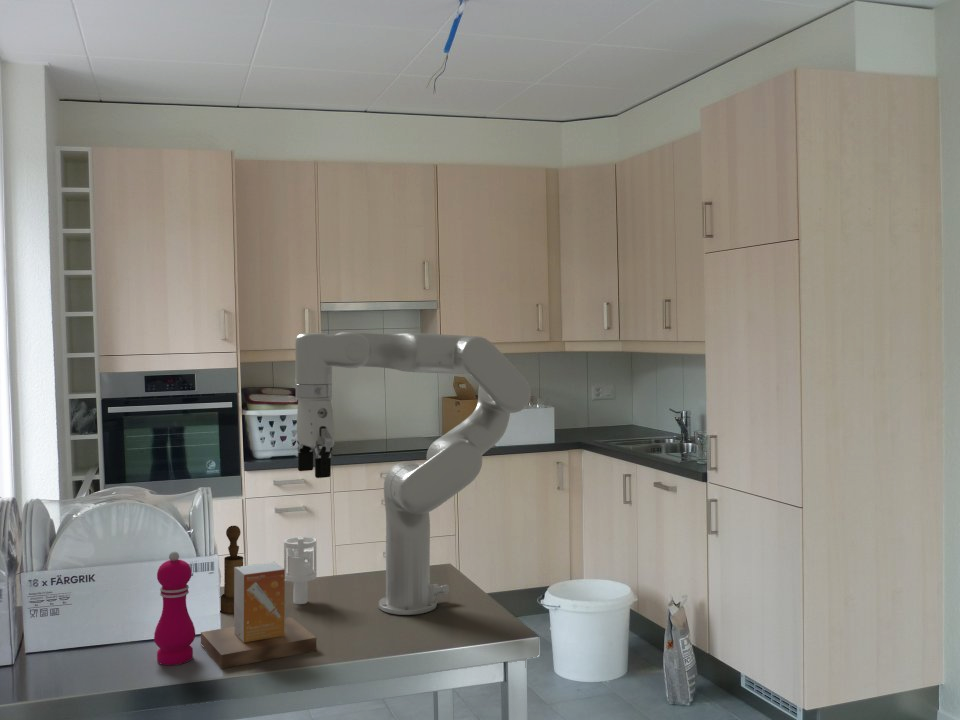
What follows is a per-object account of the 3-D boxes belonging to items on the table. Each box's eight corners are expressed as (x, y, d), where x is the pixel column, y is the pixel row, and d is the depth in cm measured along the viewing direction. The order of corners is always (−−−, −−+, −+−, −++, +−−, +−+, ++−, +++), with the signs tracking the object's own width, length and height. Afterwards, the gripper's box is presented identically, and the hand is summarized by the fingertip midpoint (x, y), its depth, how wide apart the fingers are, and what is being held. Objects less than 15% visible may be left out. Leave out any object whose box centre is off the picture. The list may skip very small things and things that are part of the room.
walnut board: (290, 629, 187) (290, 616, 187) (316, 650, 175) (316, 637, 175) (200, 645, 178) (200, 632, 178) (221, 668, 166) (221, 655, 166)
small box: (243, 643, 171) (243, 574, 171) (233, 633, 177) (233, 566, 176) (285, 636, 176) (285, 568, 175) (274, 626, 181) (274, 560, 180)
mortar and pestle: (253, 610, 199) (253, 527, 198) (224, 615, 196) (223, 531, 195) (242, 602, 205) (242, 521, 204) (213, 607, 201) (213, 525, 200)
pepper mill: (163, 651, 174) (161, 546, 173) (201, 652, 174) (200, 547, 173) (148, 666, 167) (146, 556, 166) (187, 666, 167) (186, 557, 166)
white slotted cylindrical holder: (284, 607, 201) (284, 539, 200) (283, 598, 208) (283, 532, 207) (317, 605, 202) (317, 538, 202) (315, 596, 209) (315, 530, 208)
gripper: (347, 394, 187) (347, 478, 188) (315, 388, 202) (315, 466, 203) (312, 396, 184) (312, 481, 184) (282, 390, 198) (282, 469, 199)
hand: (314, 473), depth 194 cm, fingers open, 9 cm apart
